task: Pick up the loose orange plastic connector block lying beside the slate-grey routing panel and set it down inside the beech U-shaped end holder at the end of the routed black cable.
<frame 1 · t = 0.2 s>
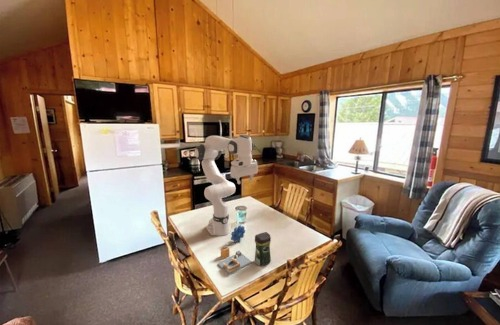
hand: (244, 182, 135), 47 cm above the table, fingers open, 8 cm apart
routed cable: (234, 257, 131), on the routing panel, point 1 cm above the table
grapes: (237, 240, 154), on the table
coffee jar: (262, 261, 131), on the table
connector: (225, 256, 136), on the table
routing panel: (234, 263, 129), on the table
end holder: (231, 268, 125), resting on routing panel
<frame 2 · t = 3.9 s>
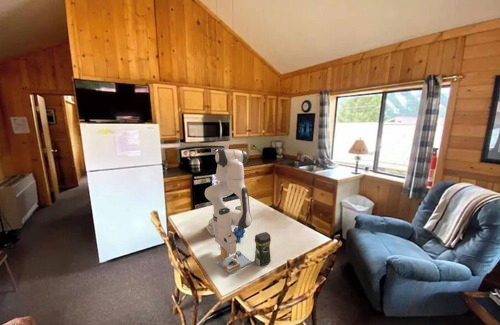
hand: (225, 253, 136), 2 cm above the table, fingers closed on connector, 4 cm apart
connector: (225, 256, 136), on the table, touching gripper
everything else where it was.
when the fingers open (5 cm above the table, at t = 8.2 s): connector drops 1 cm, resting on routed cable, routing panel.
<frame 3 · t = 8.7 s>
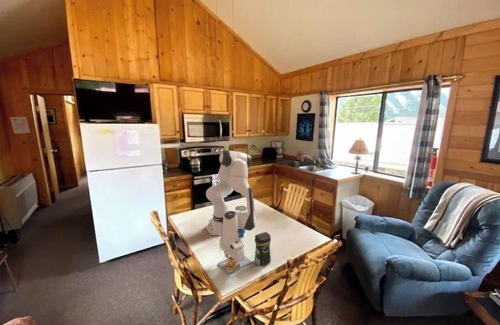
hand: (231, 261, 124), 5 cm above the table, fingers open, 8 cm apart
connector: (231, 265, 125), point 1 cm above the table, tilted 14°, touching routed cable, routing panel
everything else where it was.
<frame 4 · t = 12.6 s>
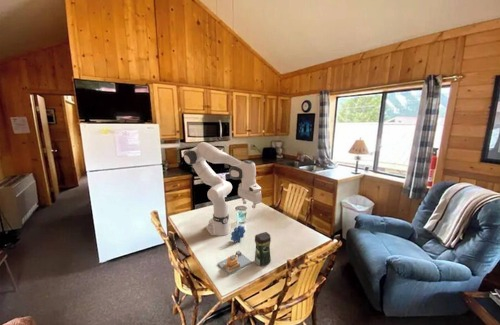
hand: (249, 205, 138), 31 cm above the table, fingers open, 8 cm apart
nothing on the table moved.
at the end: connector 0.1 cm off-centre on the end holder, point 1.5 cm above the end holder's base; connector tilted 14°; the gripper is holding nothing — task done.
